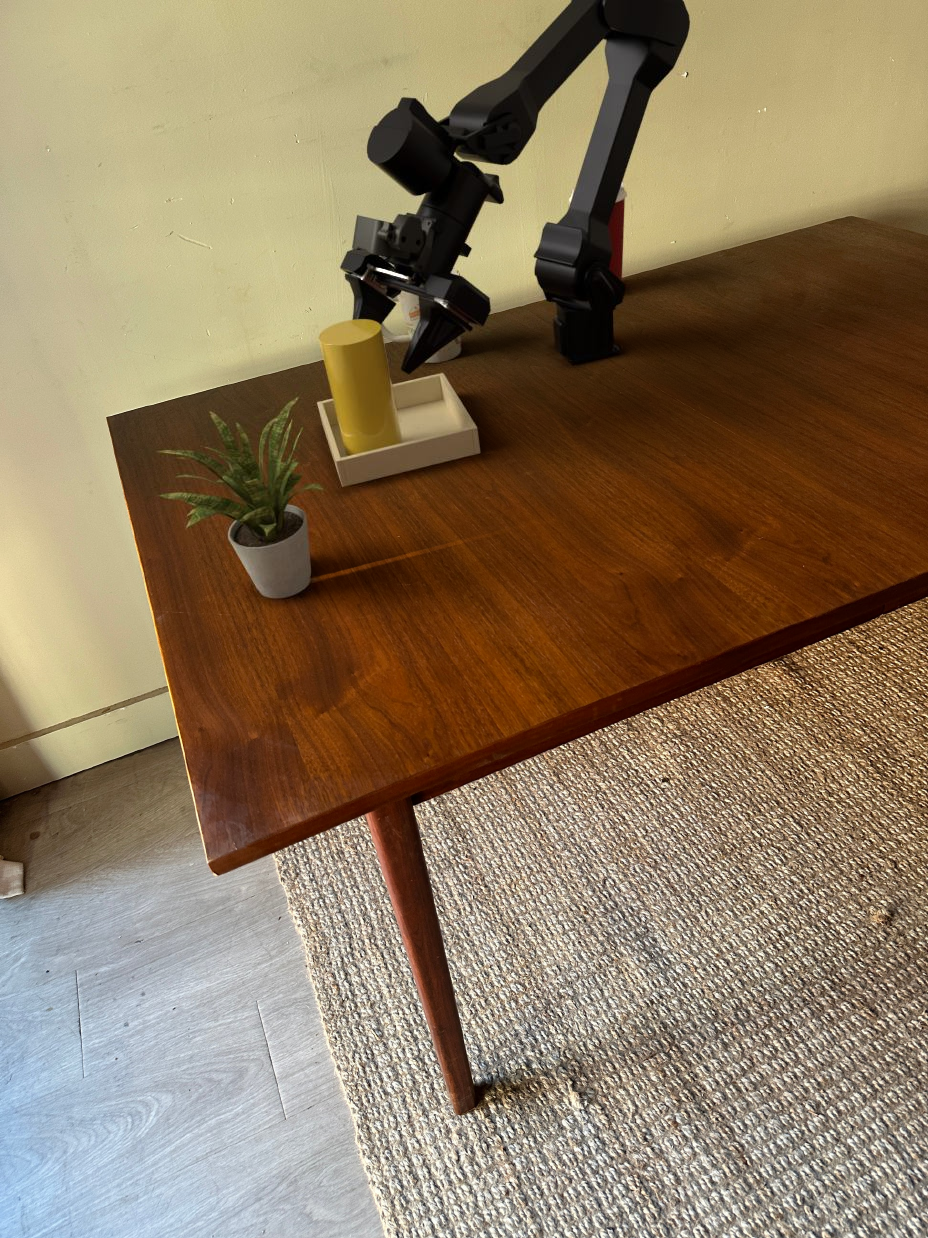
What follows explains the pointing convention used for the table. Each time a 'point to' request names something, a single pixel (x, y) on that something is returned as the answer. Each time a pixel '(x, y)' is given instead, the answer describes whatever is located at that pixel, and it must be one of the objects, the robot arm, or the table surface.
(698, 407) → the table surface
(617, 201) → the paper cup
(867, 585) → the table surface
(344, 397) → the yellow cylinder
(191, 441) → the table surface
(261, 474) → the house plant
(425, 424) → the white rectangular tray
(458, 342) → the mug
